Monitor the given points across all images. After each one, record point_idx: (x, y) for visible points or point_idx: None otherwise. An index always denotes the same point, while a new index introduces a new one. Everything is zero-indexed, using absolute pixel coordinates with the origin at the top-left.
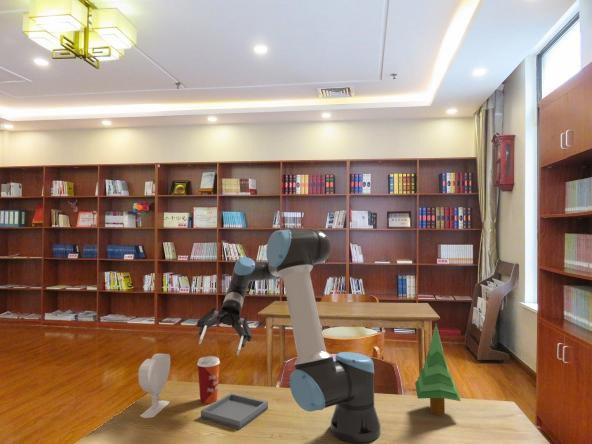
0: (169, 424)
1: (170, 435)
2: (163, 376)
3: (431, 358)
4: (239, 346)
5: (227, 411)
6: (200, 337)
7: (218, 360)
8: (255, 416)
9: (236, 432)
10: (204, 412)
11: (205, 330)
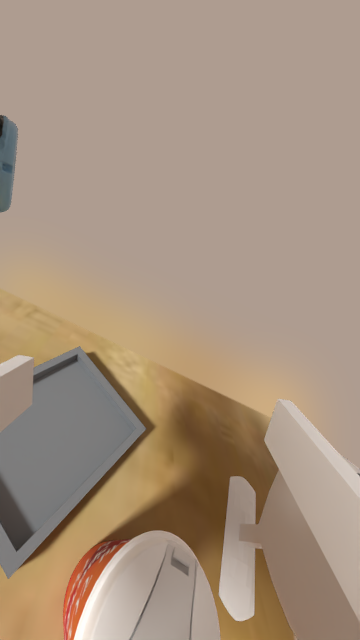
0: (195, 427)
1: (188, 386)
2: (295, 568)
3: None
4: (9, 367)
5: (77, 429)
6: (295, 406)
7: (90, 627)
8: None
9: (88, 349)
10: (138, 420)
11: (352, 526)
